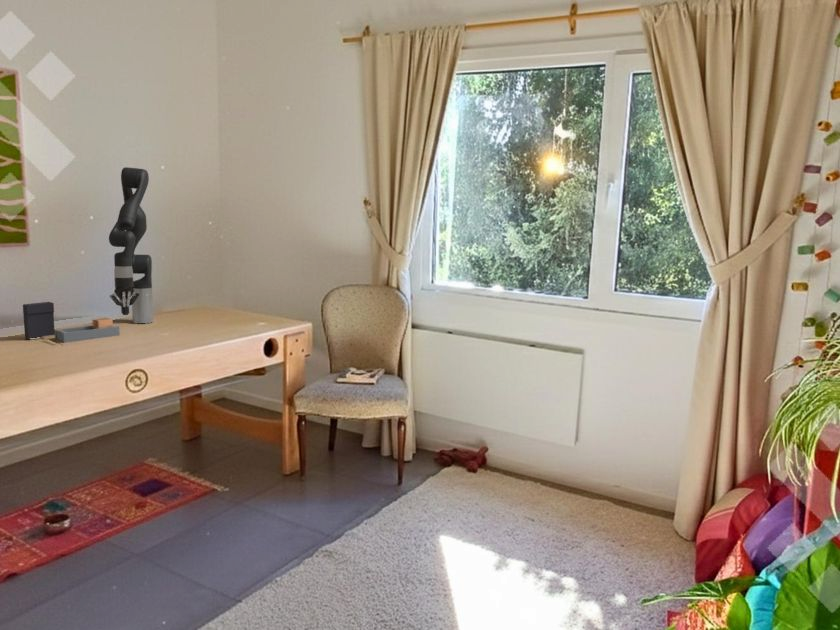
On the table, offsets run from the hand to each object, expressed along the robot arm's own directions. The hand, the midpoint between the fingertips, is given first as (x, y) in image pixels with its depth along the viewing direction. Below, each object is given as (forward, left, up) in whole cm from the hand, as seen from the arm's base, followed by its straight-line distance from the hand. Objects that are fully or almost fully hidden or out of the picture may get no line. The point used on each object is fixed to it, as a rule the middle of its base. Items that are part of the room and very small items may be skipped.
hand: (125, 314), depth 292 cm
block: (0, -10, -8) cm, 13 cm away
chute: (0, -16, -9) cm, 18 cm away
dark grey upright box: (-15, -30, -9) cm, 35 cm away
